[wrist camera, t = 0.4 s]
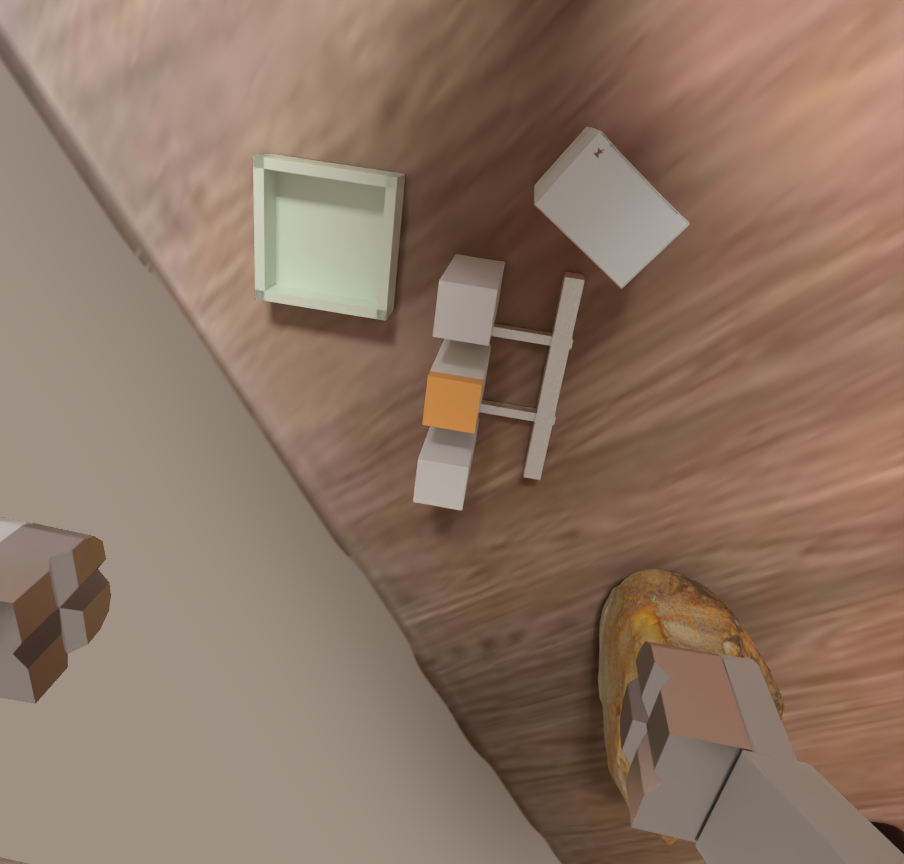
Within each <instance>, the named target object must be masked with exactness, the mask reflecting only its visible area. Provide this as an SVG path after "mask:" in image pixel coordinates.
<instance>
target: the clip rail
mask: <svg viewBox="0 0 904 864" xmlns="http://www.w3.org/2000/svg"><path fill="white" fill-rule="evenodd" d="M584 282H585V279H584V275H583V274H578V273H572V272H566V271H565V272H564V276H563V281H562V286H561V291H560V296H559V301H558V305H557V310H556V315H555V320H554V325H553V329H552V333H551V332H545V331H539V330H532V329H526V328H520V327H514V326H508V325H502V324H496V323H494V326H493V330H492V334H491V336H494V337H500V338H506V339H512V340H518V341H524V342H531V343H537V344H543V345H549V349H548V354H547V358H546V363H545V368H544V373H543V378H542V383H541V387H540V392H539V397H538V402H537V407H536V408H530V407H524V406H518V405H512V404H506V403H500V402H494V401H489V400H483V399H482V402H481V406H480V411H479V412H481V413H487V414H493V415H499V416H505V417H510V418H516V419H522V420H528V421H533V426H532V431H531V436H530V440H529V445H528V450H527V455H526V460H525V465H524V477H525V478H531V479H537V480H540V479H541V474H542V470H543V465H544V461H545V456H546V452H547V447H548V443H549V438H550V434H551V429H552V425H554V424H555V419H556V407H557V403H558V398H559V394H560V389H561V385H562V380H563V376H564V371H565V367H566V362H567V358H568V353H569V349H571V348H572V344H573V336H572V335H573V331H574V326H575V322H576V317H577V313H578V309H579V304H580V300H581V295H582V291H583V286H584Z"/></svg>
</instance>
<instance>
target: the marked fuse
mask: <svg viewBox="0 0 904 864" xmlns="http://www.w3.org/2000/svg"><path fill="white" fill-rule="evenodd" d="M491 346H492V345H490V344H489V346H486V345H480V344H474V343H468V342H462V341H456V340H450V339H444V341H443V343H442V345H441V347H440V350H439V352H438V354H437V356H436V359H435V361H434V363H433V366H432V368H431V370H430V372H429V375H428V379H427V388H426V396H425V405H424V413H423V422H422V425H427V426H432V427H438V428H444V429H450V430H455V431H461V432H467V433H473V434H475V429H476V425H477V420H478V416H479V411H480V406H481V402H482V397H483V393H484V388H485V382H486V376H487V370H488V364H489V358H490V352H491Z"/></svg>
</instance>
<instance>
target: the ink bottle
mask: <svg viewBox="0 0 904 864" xmlns="http://www.w3.org/2000/svg"><path fill="white" fill-rule="evenodd" d="M872 824H873V825H874V826H875V827H876V828H877V829H878V830H879V831H880V832H881V833H882V834H883V835H884V836H885V837H886V838H887V839H888V840H889V841H890V842H891V843H892V844H893V845H894V846H895V847H897V848H898V849H899V850H900V851H901V852H902V853H903V854H904V832H903V831H902V830H900V829H898V828H897V827H894V826H892V825H888V824H883V823H872Z"/></svg>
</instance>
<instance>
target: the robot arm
mask: <svg viewBox="0 0 904 864" xmlns="http://www.w3.org/2000/svg"><path fill="white" fill-rule="evenodd" d="M105 560H106V558H105V551H104V546H103V541H101V540H99V539H98V538H96V537H95V536H91V535H86V534H82V533H77V532H72V531H68V530H63V529H58V528H54V527H49V526H45V525H40V524H35V523H32V524H31V523H27V522H23V521H18V520H14V519H9V518H5V517H1V518H0V697H1V698H7V699H13V700H18V701H24V702H30V703H36V702H37V701H38V700H39V699H40V698H41V697H42V696H43V695H44V694H45V692H46V691H47V690H48V689H49V688H50V687H51V685H52V684H53V683H54V682H55V681H56V680H57V679H58V678H59V676H60V675H61V674H62V673H63V672H64V671H65V670H66V669H67V667H68V653H70V652H72V651H74V650H76V649H78V648H81V647H83V646H85V645H87V644H88V643H89V642H90V641H91V640H92V638H93V637H94V636H95V635H96V634H97V633H98V631H99V630H100V629H101V626H102V624H103V622H104V620H105V618H106V616H107V613H108V611H109V605H110V598H111V593H110V585H109V582H108V581H107V579H106V578H105V577H104V576H103V575H102V573H101V572H100V571H99V569H98V568H99V567H100V566H101V564H102V563H103V562H104V561H105ZM636 666H637V673H638V677H637V678H636V679H634V680H632V681H631V682H629V683H628V684H627V687H626V691H625V694H624V697H623V700H622V707H621V715H620V740H621V750H622V752H623V754H624V755H625V756H626V757H627V759H628V760H629V761H630V763H631V766H630V769H629V772H628V775H627V777H626V780H625V782H626V790H627V797H628V805H629V813H630V820H631V827H632V828H637V829H641V830H645V831H649V832H654V833H658V834H662V835H666V836H670V837H675V838H679V839H683V840H687V841H692V842H696V845H695V846H696V848H697V849H698V851H699V852H700V854H701V855H702V857H703V859H704V860H705V862H706V863H707V864H904V854H903V853H902V852H901V851H900V850H899V849H898V848H897V847H895V846H894V845H893V844H892V843H891V842H890V841H889V840H888V839H887V838H886V837H885V836H884V835H883V834H882V833H881V832H880V831H879V830H878V829H877V828H876V827H875V826H874V825H873V824H872V823H871V822H870V821H868V820H867V819H866V818H865V817H864V816H863V815H862V814H861V813H860V812H859V811H858V810H857V809H856V808H855V807H854V806H853V805H852V804H851V803H850V802H849V801H848V800H847V799H846V798H845V797H844V796H842V795H841V794H840V793H839V792H838V791H837V790H836V789H835V788H834V787H833V786H832V785H831V784H830V783H829V782H828V781H827V780H826V779H825V778H824V777H823V776H822V775H821V774H820V773H819V772H818V771H817V770H815V769H814V768H813V767H812V766H811V765H810V764H809V763H804V762H800V761H798V760H797V758H796V756H795V753H794V751H793V748H792V746H791V743H790V741H789V738H788V736H787V733H786V731H785V728H784V726H783V724H782V721H781V719H780V716H779V714H778V711H777V709H776V706H775V704H774V701H773V699H772V697H771V694H770V692H769V689H768V687H767V684H766V682H765V679H764V677H763V674H762V672H761V669H760V667H759V665H758V664H757V663H756V662H755V661H754V660H752V659H747V658H741V657H735V656H729V655H723V654H713V653H708V652H703V651H697V650H692V649H686V648H681V647H676V646H670V645H665V644H659V643H654V642H648V641H645V642H644V644H643V645H642V646H641V648H640V650H639V653H638V656H637V659H636ZM0 864H28V863H23V862H19V861H14V860H10V859H6V858H1V857H0Z"/></svg>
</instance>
